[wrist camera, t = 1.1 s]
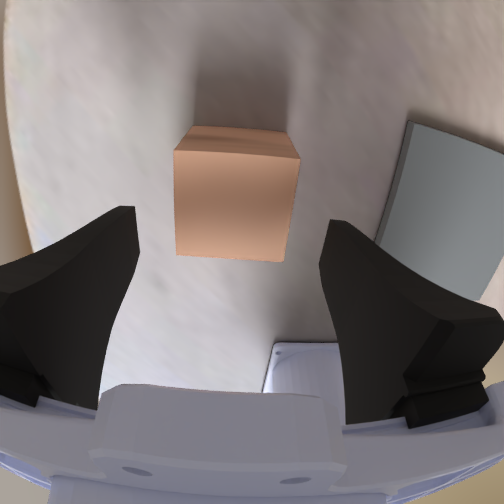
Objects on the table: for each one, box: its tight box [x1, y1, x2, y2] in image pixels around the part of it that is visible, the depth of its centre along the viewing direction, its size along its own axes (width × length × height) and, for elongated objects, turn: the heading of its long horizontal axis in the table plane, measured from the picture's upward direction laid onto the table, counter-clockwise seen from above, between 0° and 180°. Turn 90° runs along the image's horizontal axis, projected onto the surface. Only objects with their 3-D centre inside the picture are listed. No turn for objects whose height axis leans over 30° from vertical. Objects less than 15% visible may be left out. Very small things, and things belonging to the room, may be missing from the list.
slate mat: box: [375, 121, 504, 301], centre depth 19 cm, size 13×13×1 cm
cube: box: [174, 126, 301, 262], centre depth 15 cm, size 5×5×5 cm
